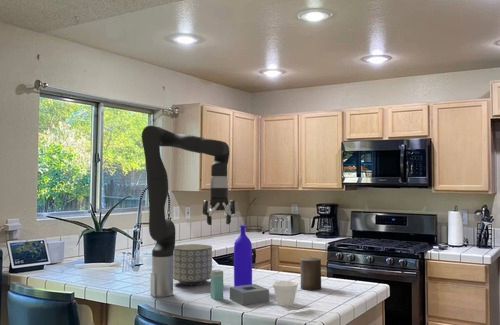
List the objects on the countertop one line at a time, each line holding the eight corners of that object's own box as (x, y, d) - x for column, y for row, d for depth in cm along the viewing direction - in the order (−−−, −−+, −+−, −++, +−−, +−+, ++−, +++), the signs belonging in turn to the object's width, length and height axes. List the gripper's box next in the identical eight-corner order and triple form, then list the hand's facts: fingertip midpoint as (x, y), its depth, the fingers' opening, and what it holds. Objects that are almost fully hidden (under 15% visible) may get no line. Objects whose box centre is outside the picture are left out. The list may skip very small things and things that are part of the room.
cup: (269, 308, 187) (269, 284, 187) (277, 302, 196) (277, 279, 197) (294, 311, 184) (293, 286, 184) (300, 304, 193) (300, 281, 193)
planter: (191, 278, 246) (191, 243, 247) (219, 282, 235) (219, 245, 236) (164, 284, 231) (164, 247, 232) (194, 289, 220) (194, 250, 221)
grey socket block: (242, 308, 188) (242, 292, 188) (229, 301, 198) (229, 287, 199) (269, 304, 193) (269, 289, 194) (254, 298, 204) (254, 284, 204)
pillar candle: (324, 290, 218) (323, 257, 219) (303, 291, 217) (303, 257, 218) (317, 285, 228) (317, 254, 229) (297, 286, 226) (297, 254, 227)
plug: (214, 301, 197) (214, 272, 198) (210, 299, 201) (210, 270, 201) (223, 300, 199) (223, 271, 200) (219, 298, 203) (219, 269, 203)
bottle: (234, 289, 220) (234, 224, 221) (252, 289, 220) (252, 224, 221) (233, 293, 212) (233, 226, 213) (252, 293, 212) (251, 226, 213)
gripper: (207, 187, 199) (206, 226, 198) (237, 186, 205) (237, 224, 205) (200, 186, 205) (200, 224, 205) (230, 186, 212) (230, 223, 211)
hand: (219, 224), depth 205 cm, fingers open, 8 cm apart
